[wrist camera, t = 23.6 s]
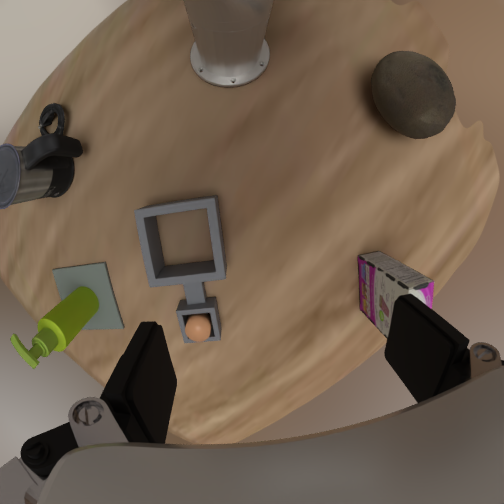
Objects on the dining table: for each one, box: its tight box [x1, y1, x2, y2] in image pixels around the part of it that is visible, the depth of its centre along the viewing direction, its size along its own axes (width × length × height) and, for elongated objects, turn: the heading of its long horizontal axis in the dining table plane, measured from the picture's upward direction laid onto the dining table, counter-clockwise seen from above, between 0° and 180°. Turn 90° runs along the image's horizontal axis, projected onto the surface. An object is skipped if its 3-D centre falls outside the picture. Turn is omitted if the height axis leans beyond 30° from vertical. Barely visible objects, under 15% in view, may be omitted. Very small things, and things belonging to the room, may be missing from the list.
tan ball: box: [185, 313, 212, 342], centre depth 42 cm, size 4×4×3 cm
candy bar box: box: [358, 251, 434, 339], centre depth 39 cm, size 11×5×16 cm, turn 11°
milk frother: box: [0, 103, 83, 209], centre depth 29 cm, size 14×16×15 cm
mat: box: [52, 262, 124, 329], centre depth 44 cm, size 13×13×1 cm
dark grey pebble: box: [371, 51, 456, 139], centre depth 31 cm, size 14×14×15 cm
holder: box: [134, 195, 227, 343], centre depth 41 cm, size 23×11×6 cm, turn 6°
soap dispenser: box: [10, 286, 99, 369], centre depth 34 cm, size 6×7×20 cm
